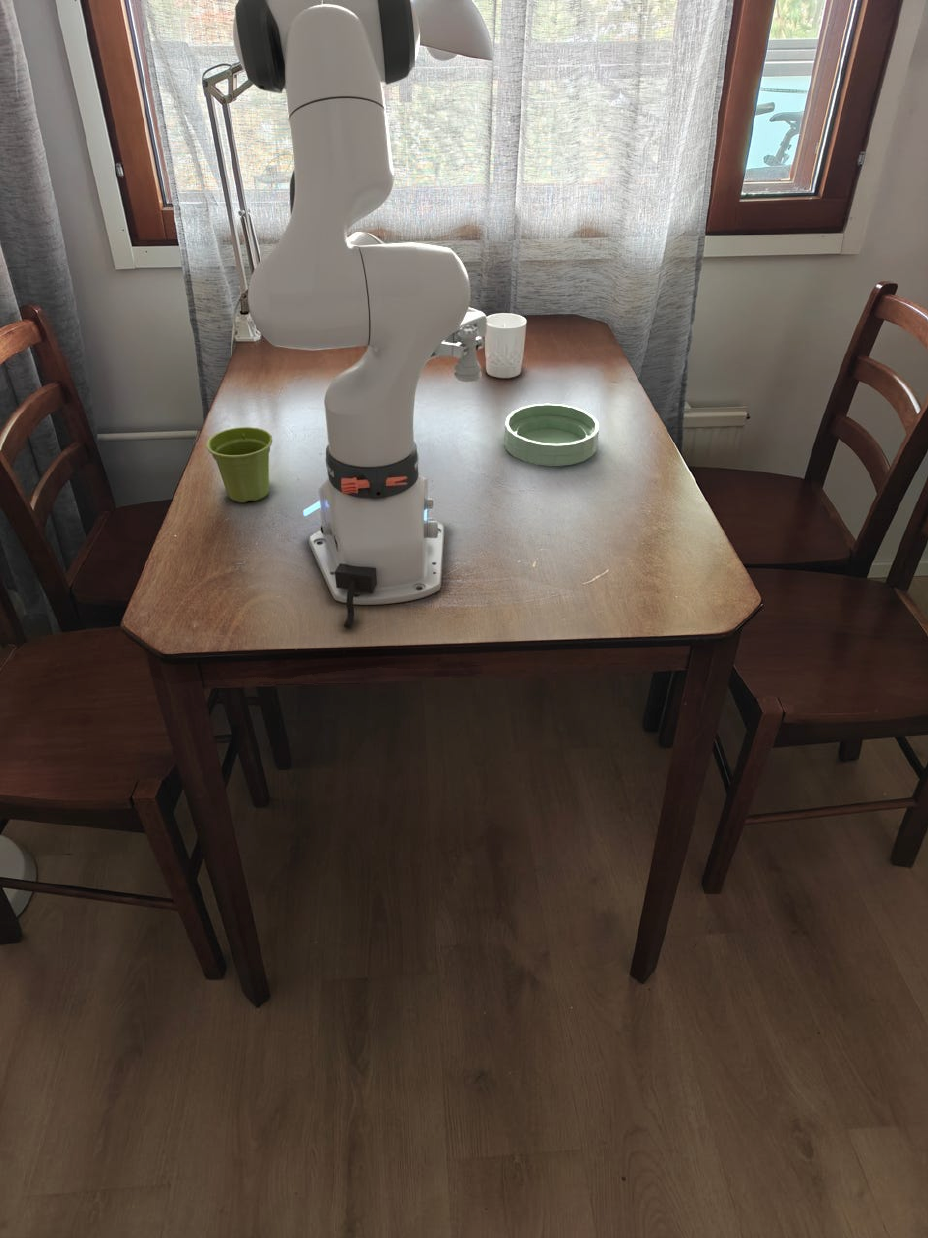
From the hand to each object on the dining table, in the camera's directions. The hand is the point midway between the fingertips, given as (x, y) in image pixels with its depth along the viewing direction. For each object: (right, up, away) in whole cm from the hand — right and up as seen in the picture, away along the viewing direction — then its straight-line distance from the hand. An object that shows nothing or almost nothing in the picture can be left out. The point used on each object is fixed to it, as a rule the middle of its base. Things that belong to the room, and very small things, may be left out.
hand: (472, 348), depth 138 cm
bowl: (+13, -14, +7) cm, 20 cm away
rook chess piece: (-1, -4, +4) cm, 5 cm away
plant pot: (-34, -24, -5) cm, 42 cm away
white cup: (+6, +5, +32) cm, 33 cm away
